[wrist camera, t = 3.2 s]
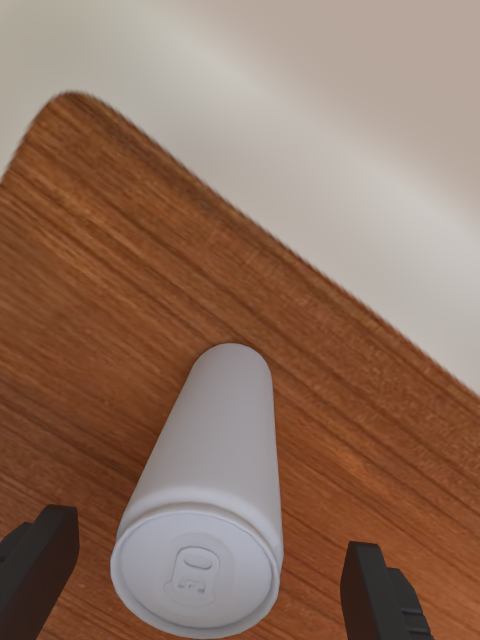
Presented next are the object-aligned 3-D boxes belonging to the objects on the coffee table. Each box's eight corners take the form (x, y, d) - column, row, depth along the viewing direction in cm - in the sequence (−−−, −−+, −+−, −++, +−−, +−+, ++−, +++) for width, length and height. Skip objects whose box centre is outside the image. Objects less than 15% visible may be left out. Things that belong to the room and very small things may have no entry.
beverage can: (184, 403, 22) (95, 620, 10) (199, 330, 20) (115, 486, 9) (261, 422, 22) (260, 659, 10) (282, 350, 20) (307, 532, 9)
